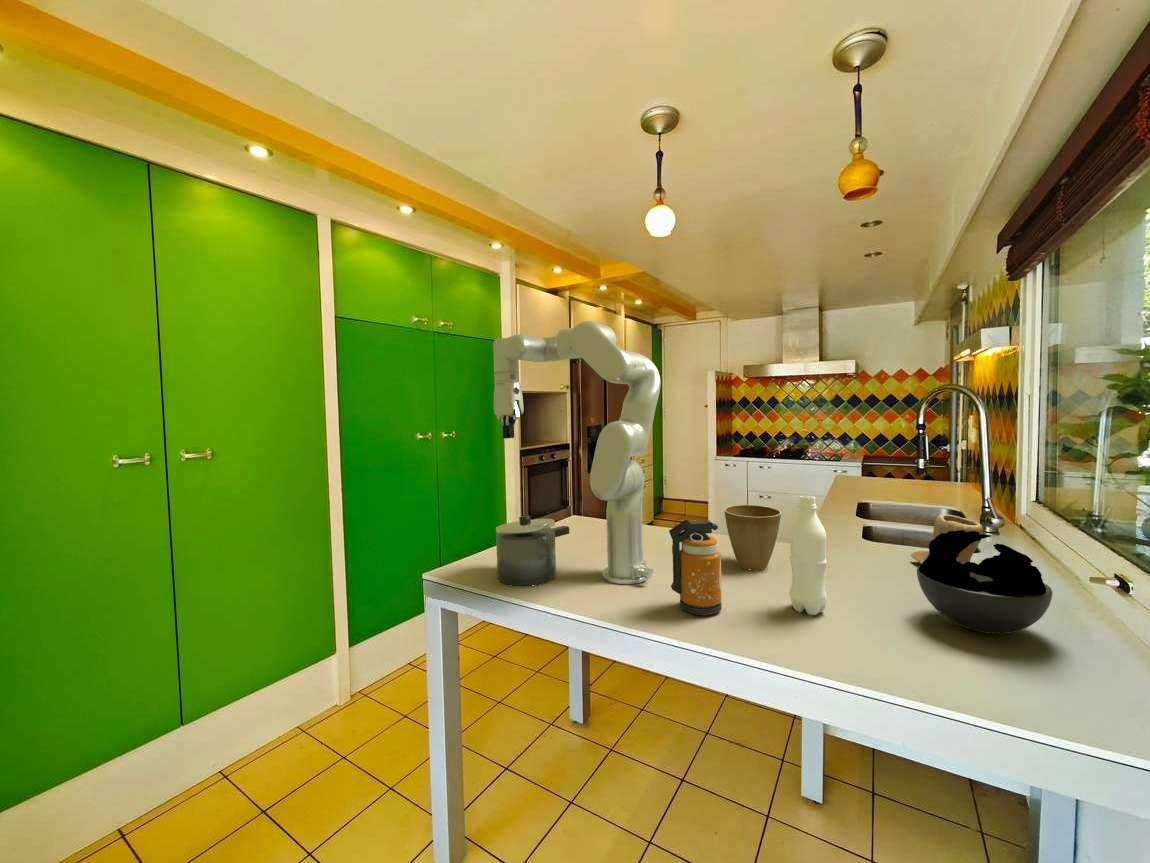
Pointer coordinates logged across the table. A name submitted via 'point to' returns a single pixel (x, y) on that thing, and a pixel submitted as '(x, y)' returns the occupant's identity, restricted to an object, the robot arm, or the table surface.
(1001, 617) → the coal bowl
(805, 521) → the water bottle
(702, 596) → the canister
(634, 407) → the robot arm
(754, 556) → the plant pot
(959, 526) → the stone cup
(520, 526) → the lid
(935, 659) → the table surface
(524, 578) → the cooker pot
